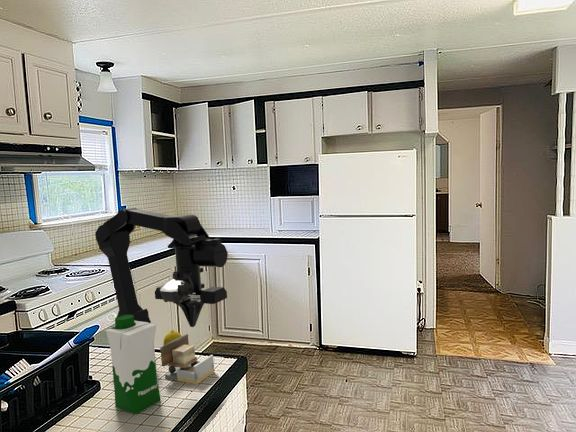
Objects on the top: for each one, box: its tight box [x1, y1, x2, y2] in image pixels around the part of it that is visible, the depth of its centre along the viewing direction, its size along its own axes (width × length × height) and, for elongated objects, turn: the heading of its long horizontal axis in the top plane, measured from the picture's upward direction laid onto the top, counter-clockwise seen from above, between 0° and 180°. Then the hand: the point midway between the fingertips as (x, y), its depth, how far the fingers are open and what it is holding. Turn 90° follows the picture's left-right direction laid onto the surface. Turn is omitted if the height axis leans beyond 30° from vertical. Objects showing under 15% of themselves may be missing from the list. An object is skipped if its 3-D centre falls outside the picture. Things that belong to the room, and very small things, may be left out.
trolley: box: [159, 333, 198, 373], centre depth 116 cm, size 5×10×8 cm, turn 153°
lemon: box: [163, 329, 183, 346], centre depth 128 cm, size 6×6×8 cm
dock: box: [164, 354, 215, 385], centre depth 115 cm, size 10×7×4 cm
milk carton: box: [105, 314, 162, 416], centre depth 101 cm, size 9×9×20 cm
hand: (192, 326), depth 114 cm, fingers closed
